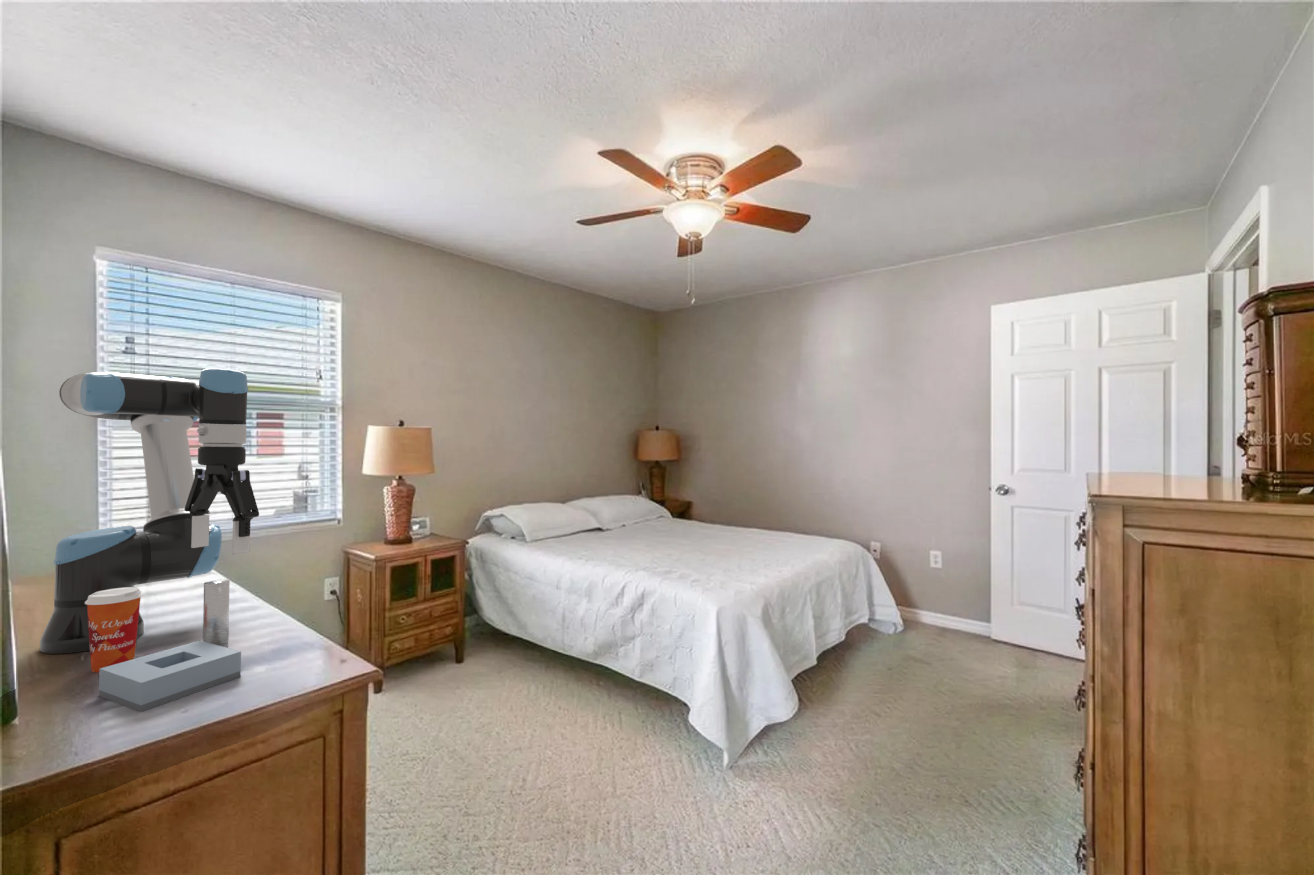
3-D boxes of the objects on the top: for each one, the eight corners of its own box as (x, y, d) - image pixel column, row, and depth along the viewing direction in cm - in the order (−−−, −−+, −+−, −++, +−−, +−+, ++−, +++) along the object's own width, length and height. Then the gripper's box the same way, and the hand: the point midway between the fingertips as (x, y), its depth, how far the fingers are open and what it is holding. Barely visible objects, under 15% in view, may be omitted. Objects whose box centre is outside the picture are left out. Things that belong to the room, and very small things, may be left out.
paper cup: (74, 678, 95) (76, 599, 95) (94, 662, 102) (96, 589, 102) (133, 670, 98) (134, 594, 99) (149, 655, 105) (150, 584, 105)
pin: (198, 653, 106) (199, 583, 107) (221, 646, 110) (222, 578, 110) (209, 656, 105) (211, 585, 105) (232, 649, 108) (233, 580, 109)
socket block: (98, 695, 88) (99, 668, 88) (199, 664, 101) (199, 640, 101) (140, 711, 83) (141, 682, 83) (240, 676, 96) (241, 651, 96)
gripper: (164, 444, 109) (162, 547, 109) (240, 446, 100) (237, 559, 100) (207, 444, 116) (204, 541, 116) (281, 446, 107) (279, 552, 107)
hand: (219, 550), depth 108 cm, fingers open, 13 cm apart
